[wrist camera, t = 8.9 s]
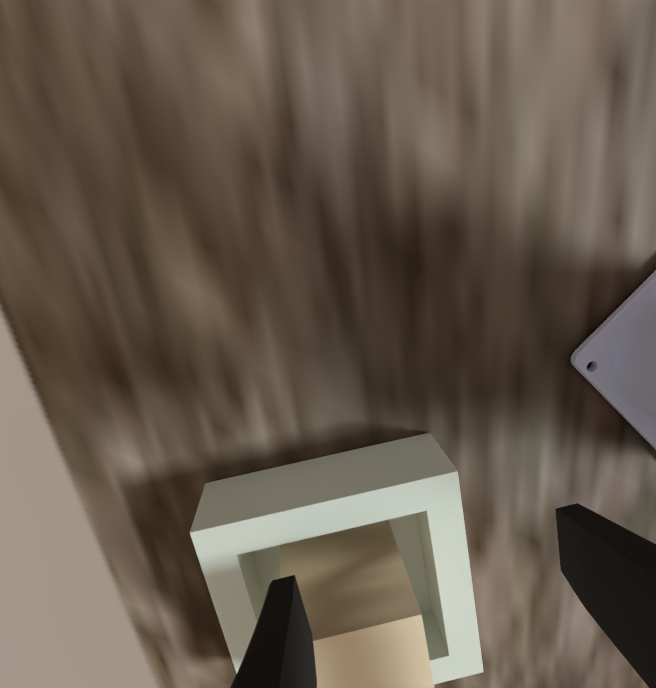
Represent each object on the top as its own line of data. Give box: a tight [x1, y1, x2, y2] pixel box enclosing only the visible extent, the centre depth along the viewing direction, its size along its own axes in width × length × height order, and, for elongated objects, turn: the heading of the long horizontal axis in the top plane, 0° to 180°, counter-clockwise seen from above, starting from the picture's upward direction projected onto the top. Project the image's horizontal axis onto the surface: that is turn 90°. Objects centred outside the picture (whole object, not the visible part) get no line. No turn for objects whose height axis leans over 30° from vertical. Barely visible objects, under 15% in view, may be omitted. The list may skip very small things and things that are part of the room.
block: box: [280, 520, 434, 688], centre depth 18 cm, size 5×5×6 cm
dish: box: [190, 433, 483, 684], centre depth 20 cm, size 11×11×4 cm
